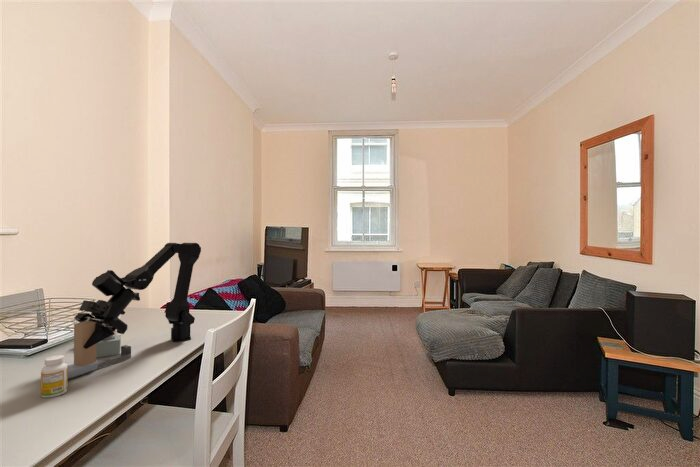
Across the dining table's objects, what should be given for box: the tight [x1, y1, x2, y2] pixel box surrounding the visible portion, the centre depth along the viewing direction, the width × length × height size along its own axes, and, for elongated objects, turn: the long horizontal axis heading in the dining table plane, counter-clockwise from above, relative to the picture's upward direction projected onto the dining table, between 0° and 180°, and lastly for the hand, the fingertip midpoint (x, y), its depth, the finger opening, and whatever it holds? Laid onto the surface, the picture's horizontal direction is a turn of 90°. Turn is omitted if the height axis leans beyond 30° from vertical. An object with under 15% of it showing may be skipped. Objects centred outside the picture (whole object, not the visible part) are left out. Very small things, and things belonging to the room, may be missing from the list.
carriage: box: [67, 321, 98, 379], centre depth 103 cm, size 8×6×14 cm, turn 158°
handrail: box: [68, 344, 132, 380], centre depth 107 cm, size 22×3×4 cm, turn 158°
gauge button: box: [104, 330, 116, 341], centre depth 122 cm, size 4×4×6 cm
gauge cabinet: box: [96, 334, 122, 358], centre depth 122 cm, size 7×7×5 cm
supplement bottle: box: [40, 354, 69, 399], centre depth 91 cm, size 5×5×10 cm
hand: (80, 347), depth 104 cm, fingers closed on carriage, 4 cm apart
